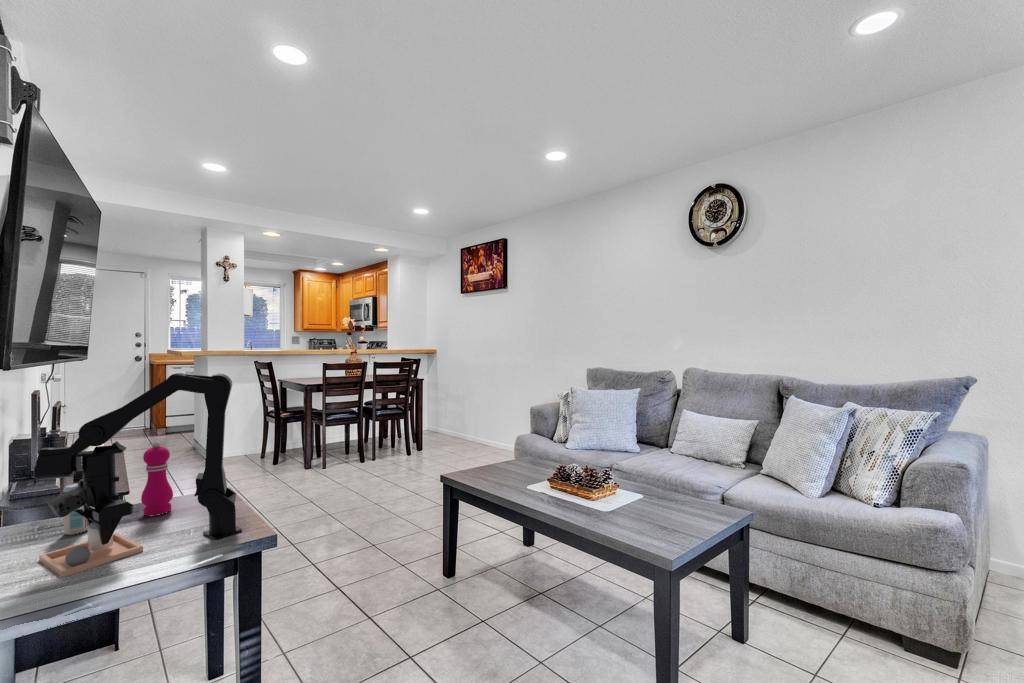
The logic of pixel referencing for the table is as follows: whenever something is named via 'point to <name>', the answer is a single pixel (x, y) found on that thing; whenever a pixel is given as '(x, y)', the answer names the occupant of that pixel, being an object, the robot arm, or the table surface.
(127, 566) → the table surface
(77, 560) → the mixing ball
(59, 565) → the tray
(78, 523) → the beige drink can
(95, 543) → the cylinder
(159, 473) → the pepper mill
